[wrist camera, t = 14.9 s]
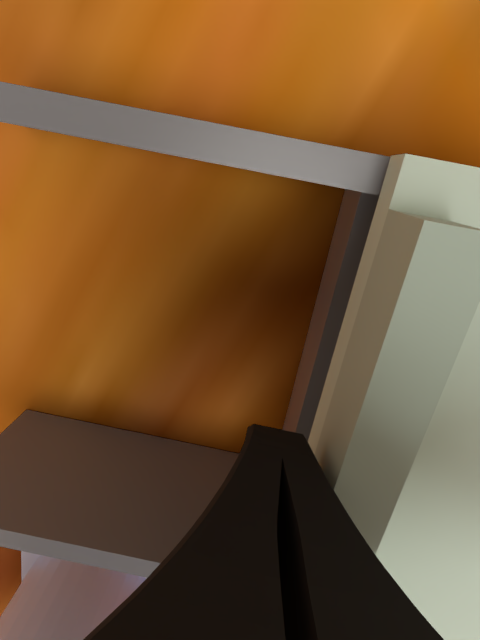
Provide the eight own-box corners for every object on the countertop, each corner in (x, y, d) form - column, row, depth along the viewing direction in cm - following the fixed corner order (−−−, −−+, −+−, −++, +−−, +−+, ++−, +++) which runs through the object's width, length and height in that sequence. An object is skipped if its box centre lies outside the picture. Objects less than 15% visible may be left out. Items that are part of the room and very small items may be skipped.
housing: (519, 526, 19) (626, 680, 13) (26, 423, 20) (-80, 529, 14) (687, 230, 14) (970, 269, 8) (24, 101, 15) (-142, 54, 9)
